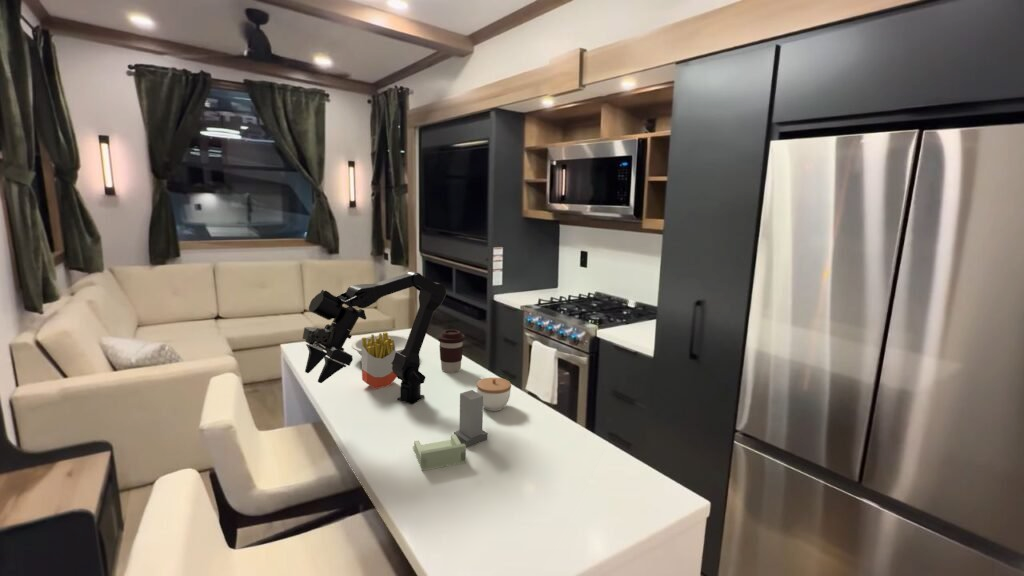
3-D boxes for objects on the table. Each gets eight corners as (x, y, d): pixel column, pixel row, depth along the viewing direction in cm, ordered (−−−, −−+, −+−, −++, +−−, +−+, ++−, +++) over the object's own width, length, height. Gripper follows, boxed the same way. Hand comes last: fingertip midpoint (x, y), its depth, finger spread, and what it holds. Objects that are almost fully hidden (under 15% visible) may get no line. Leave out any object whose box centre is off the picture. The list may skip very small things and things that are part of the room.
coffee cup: (469, 368, 181) (470, 331, 178) (452, 376, 173) (453, 337, 170) (449, 363, 186) (449, 326, 183) (432, 370, 178) (432, 332, 175)
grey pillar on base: (453, 439, 128) (454, 394, 126) (474, 431, 133) (475, 388, 130) (466, 448, 124) (467, 401, 121) (487, 439, 128) (488, 395, 126)
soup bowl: (406, 370, 177) (406, 353, 176) (342, 368, 177) (342, 351, 176) (419, 350, 201) (419, 335, 200) (363, 348, 201) (363, 333, 200)
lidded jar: (494, 396, 156) (495, 370, 155) (517, 407, 149) (518, 379, 147) (469, 405, 149) (469, 377, 147) (492, 417, 141) (492, 388, 140)
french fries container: (397, 383, 164) (397, 334, 161) (367, 391, 157) (366, 339, 154) (391, 379, 168) (391, 331, 164) (362, 386, 161) (360, 335, 158)
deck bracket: (412, 447, 123) (412, 432, 122) (453, 440, 127) (453, 425, 126) (422, 470, 113) (422, 453, 112) (465, 462, 117) (465, 445, 116)
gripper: (304, 308, 134) (274, 358, 130) (330, 322, 120) (298, 378, 117) (337, 324, 141) (309, 371, 138) (365, 338, 128) (336, 391, 124)
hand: (312, 377), depth 129 cm, fingers open, 9 cm apart
